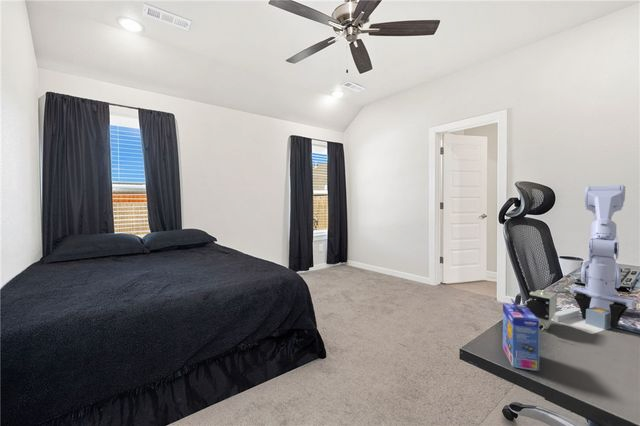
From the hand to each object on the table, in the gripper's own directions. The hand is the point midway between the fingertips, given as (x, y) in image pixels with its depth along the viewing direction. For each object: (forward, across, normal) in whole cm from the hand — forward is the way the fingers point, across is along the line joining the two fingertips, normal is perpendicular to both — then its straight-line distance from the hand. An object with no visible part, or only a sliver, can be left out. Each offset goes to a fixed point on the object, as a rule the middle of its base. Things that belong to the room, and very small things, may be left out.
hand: (599, 322), depth 89 cm
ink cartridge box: (+2, +1, -40) cm, 40 cm away
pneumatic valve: (+2, -7, -17) cm, 18 cm away
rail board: (+2, -3, -3) cm, 5 cm away
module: (+1, 0, 0) cm, 1 cm away
